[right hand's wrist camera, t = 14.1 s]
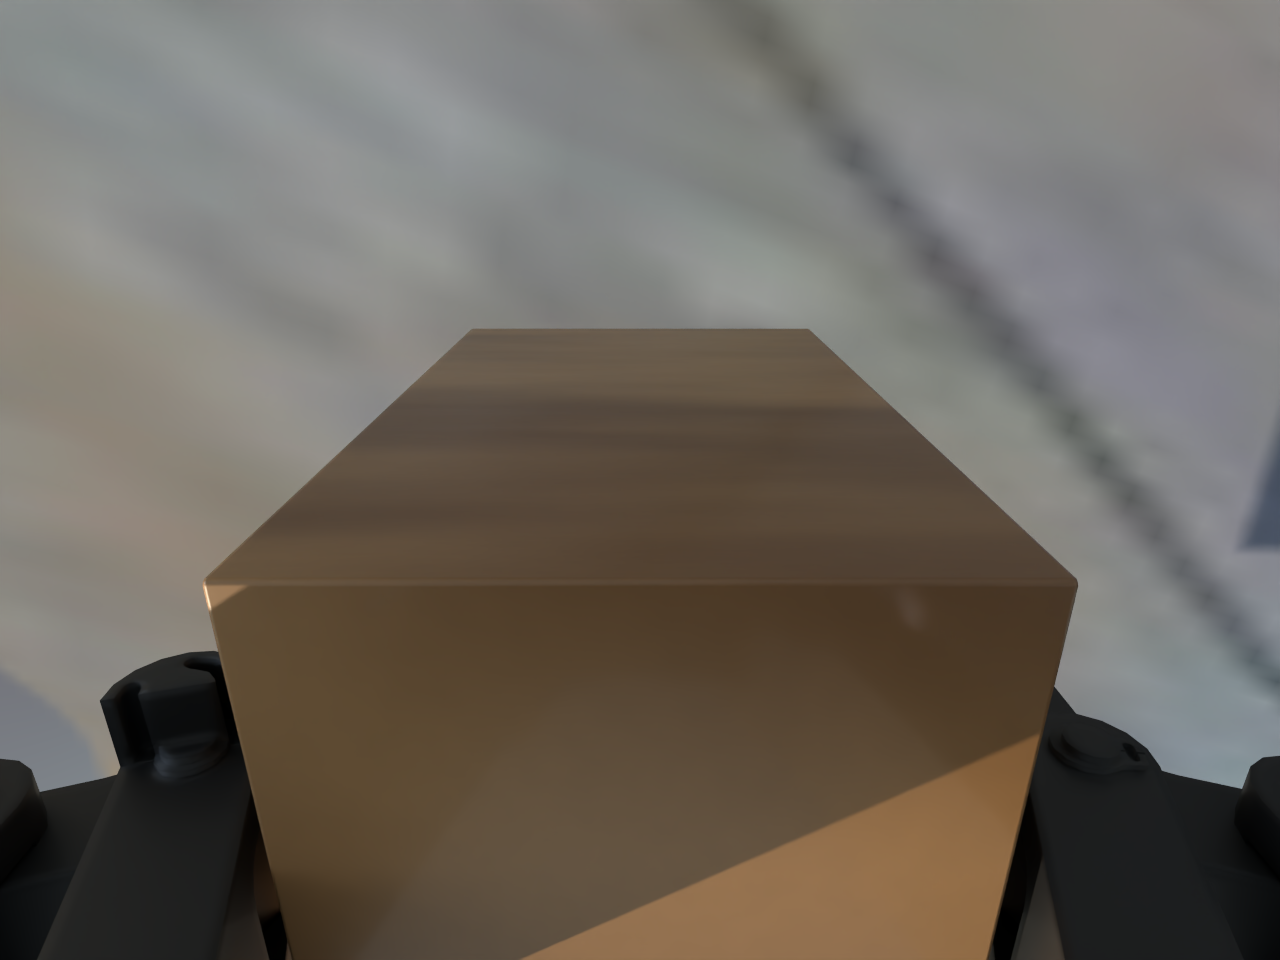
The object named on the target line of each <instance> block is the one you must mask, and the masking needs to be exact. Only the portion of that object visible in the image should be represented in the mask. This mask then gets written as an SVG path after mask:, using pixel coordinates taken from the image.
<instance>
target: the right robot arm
mask: <svg viewBox="0 0 1280 960" xmlns="http://www.w3.org/2000/svg"><path fill="white" fill-rule="evenodd" d="M100 703H101V706H102V709H103V713H104V716H105V719H106V722H107V725H108V728H109V732H110V735H111V738H112V741H113V744H114V748H115V751H116V754H117V757H118V760H119V764H120V769H119V772H118V774H117V775H114V776H110V777H107V778H103V779H99V780H94V781H89V782H85V783H80V784H75V785H71V786H66V787H62V788H57V789H52V790H47V791H43V792H39V789H38V786H37V783H36V781H35V778H34V775H33V773H32V770H31V769H30V768H28V767H27V766H26V765H24V764H23V763H21V762H20V761H15V760H6V759H0V960H292V958H291V954H290V949H289V945H288V941H287V937H286V933H285V928H284V924H283V920H282V916H281V912H280V907H279V903H278V899H277V895H276V891H275V886H274V882H273V878H272V874H271V870H270V866H269V861H268V857H267V853H266V849H265V845H264V840H263V836H262V832H261V828H260V824H259V819H258V815H257V811H256V807H255V803H254V798H253V794H252V790H251V786H250V782H249V778H248V773H247V769H246V765H245V761H244V757H243V752H242V748H241V744H240V740H239V736H238V731H237V727H236V723H235V719H234V715H233V711H232V706H231V702H230V698H229V694H228V690H227V685H226V681H225V677H224V673H223V669H222V664H221V660H220V656H219V652H216V651H205V652H189V653H185V654H181V655H177V656H172V657H168V658H164V659H161V660H158V661H156V662H154V663H151V664H149V665H147V666H144V667H142V668H140V669H137V670H135V671H133V672H132V673H130V674H129V675H127V676H126V677H124V678H123V679H121V680H120V681H118V682H117V683H115V684H114V685H113V686H112V687H111V688H110V689H109V691H108V692H107V693H106V694H105V695H104V696H103V698H102V699H101V700H100ZM989 960H1280V756H1274V757H1264V758H1262V759H1260V760H1259V761H1257V762H1256V763H1255V764H1253V765H1252V766H1250V769H1249V772H1248V775H1247V777H1246V780H1245V783H1244V785H1243V788H1242V789H1239V788H1235V787H1230V786H1225V785H1221V784H1216V783H1211V782H1207V781H1202V780H1197V779H1193V778H1188V777H1183V776H1179V775H1175V774H1171V773H1168V772H1164V771H1162V770H1161V768H1160V766H1159V764H1158V763H1157V762H1156V760H1155V759H1154V758H1153V756H1152V755H1151V753H1150V752H1149V751H1148V749H1147V748H1145V747H1144V746H1143V745H1142V744H1140V743H1139V742H1138V741H1136V740H1135V739H1134V738H1132V737H1131V736H1130V735H1129V734H1127V733H1126V732H1123V731H1121V730H1119V729H1117V728H1115V727H1113V726H1111V725H1109V724H1107V723H1105V722H1103V721H1100V720H1097V719H1093V718H1089V717H1086V716H1082V715H1079V714H1076V713H1075V712H1074V711H1073V709H1072V708H1071V707H1070V706H1069V704H1068V703H1067V702H1066V701H1065V699H1064V698H1063V697H1062V696H1061V694H1060V693H1059V692H1058V691H1057V689H1056V688H1055V687H1054V689H1053V693H1052V697H1051V701H1050V705H1049V710H1048V714H1047V718H1046V722H1045V726H1044V730H1043V735H1042V739H1041V743H1040V747H1039V751H1038V756H1037V760H1036V764H1035V768H1034V772H1033V776H1032V781H1031V785H1030V789H1029V793H1028V797H1027V801H1026V806H1025V810H1024V814H1023V818H1022V822H1021V827H1020V831H1019V835H1018V839H1017V843H1016V847H1015V852H1014V856H1013V860H1012V864H1011V868H1010V872H1009V877H1008V881H1007V885H1006V889H1005V893H1004V898H1003V902H1002V906H1001V910H1000V914H999V918H998V923H997V927H996V931H995V935H994V939H993V944H992V948H991V952H990V956H989Z"/></svg>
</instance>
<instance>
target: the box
mask: <svg viewBox="0 0 1280 960" xmlns="http://www.w3.org/2000/svg"><path fill="white" fill-rule="evenodd" d="M1077 588H1078V582H1077V579H1076V578H1075V577H1074V576H1073V575H1072V574H1071V573H1070V572H1068V571H1067V570H1066V569H1065V568H1064V567H1063V566H1062V565H1061V564H1060V563H1059V562H1058V561H1057V560H1056V559H1055V558H1053V557H1052V556H1051V555H1050V554H1049V553H1048V552H1047V551H1046V550H1045V549H1044V548H1043V547H1042V546H1041V545H1040V544H1038V543H1037V542H1036V541H1035V540H1034V539H1033V538H1032V537H1031V536H1030V535H1029V534H1028V533H1027V532H1026V531H1025V530H1023V529H1022V528H1021V527H1020V526H1019V525H1018V524H1017V523H1016V522H1015V521H1014V520H1013V519H1012V518H1011V517H1010V516H1008V515H1007V514H1006V513H1005V512H1004V511H1003V510H1002V509H1001V508H1000V507H999V506H998V505H997V504H996V503H995V502H993V501H992V500H991V499H990V498H989V497H988V496H987V495H986V494H985V493H984V492H983V491H982V490H981V489H980V488H978V487H977V486H976V485H975V484H974V483H973V482H972V481H971V480H970V479H969V478H968V477H967V476H966V475H965V474H963V473H962V472H961V471H960V470H959V469H958V468H957V467H956V466H955V465H954V464H953V463H952V462H951V461H949V460H948V459H947V458H946V457H945V456H944V455H943V454H942V453H941V452H940V451H939V450H938V449H937V448H936V447H934V446H933V445H932V444H931V443H930V442H929V441H928V440H927V439H926V438H925V437H924V436H923V435H922V434H921V433H919V432H918V431H917V430H916V429H915V428H914V427H913V426H912V425H911V424H910V423H909V422H908V421H907V420H906V419H904V418H903V417H902V416H901V415H900V414H899V413H898V412H897V411H896V410H895V409H894V408H893V407H892V406H891V405H889V404H888V403H887V402H886V401H885V400H884V399H883V398H882V397H881V396H880V395H879V394H878V393H877V392H876V391H874V390H873V389H872V388H871V387H870V386H869V385H868V384H867V383H866V382H865V381H864V380H863V379H862V378H861V377H859V376H858V375H857V374H856V373H855V372H854V371H853V370H852V369H851V368H850V367H849V366H848V365H847V364H846V363H844V362H843V361H842V360H841V359H840V358H839V357H838V356H837V355H836V354H835V353H834V352H833V351H832V350H831V349H829V348H828V347H827V346H826V345H825V344H824V343H823V342H822V341H821V340H820V339H819V338H818V337H817V336H815V335H814V334H813V333H812V332H811V331H810V330H809V329H472V330H470V331H469V332H468V333H467V334H466V335H465V336H464V337H463V338H462V339H461V340H460V341H459V342H458V343H456V344H455V345H454V346H453V347H452V348H451V349H450V350H449V351H448V352H447V353H446V354H445V355H444V356H442V357H441V358H440V359H439V360H438V361H437V362H436V363H435V364H434V365H433V366H432V367H431V368H430V369H429V370H427V371H426V372H425V373H424V374H423V375H422V376H421V377H420V378H419V379H418V380H417V381H416V382H415V383H414V384H412V385H411V386H410V387H409V388H408V389H407V390H406V391H405V392H404V393H403V394H402V395H401V396H400V397H399V398H397V399H396V400H395V401H394V402H393V403H392V404H391V405H390V406H389V407H388V408H387V409H386V410H385V411H384V412H382V413H381V414H380V415H379V416H378V417H377V418H376V419H375V420H374V421H373V422H372V423H371V424H370V425H369V426H367V427H366V428H365V429H364V430H363V431H362V432H361V433H360V434H359V435H358V436H357V437H356V438H355V439H354V440H352V441H351V442H350V443H349V444H348V445H347V446H346V447H345V448H344V449H343V450H342V451H341V452H340V453H339V454H337V455H336V456H335V457H334V458H333V459H332V460H331V461H330V462H329V463H328V464H327V465H326V466H325V467H324V468H322V469H321V470H320V471H319V472H318V473H317V474H316V475H315V476H314V477H313V478H312V479H311V480H310V481H309V482H307V483H306V484H305V485H304V486H303V487H302V488H301V489H300V490H299V491H298V492H297V493H296V494H295V495H294V496H292V497H291V498H290V499H289V500H288V501H287V502H286V503H285V504H284V505H283V506H282V507H281V508H280V509H279V510H277V511H276V512H275V513H274V514H273V515H272V516H271V517H270V518H269V519H268V520H267V521H266V522H265V523H264V524H262V525H261V526H260V527H259V528H258V529H257V530H256V531H255V532H254V533H253V534H252V535H251V536H250V537H249V538H247V539H246V540H245V541H244V542H243V543H242V544H241V545H240V546H239V547H238V548H237V549H236V550H235V551H234V552H232V553H231V554H230V555H229V556H228V557H227V558H226V559H225V560H224V561H223V562H222V563H221V564H220V565H219V566H217V567H216V568H215V569H214V570H213V571H212V572H211V573H210V574H209V575H208V576H207V577H206V578H205V579H204V581H203V589H204V593H205V597H206V602H207V606H208V610H209V614H210V618H211V623H212V627H213V631H214V635H215V639H216V643H217V648H218V652H219V656H220V660H221V664H222V669H223V673H224V677H225V681H226V685H227V690H228V694H229V698H230V702H231V706H232V711H233V715H234V719H235V723H236V727H237V731H238V736H239V740H240V744H241V748H242V752H243V757H244V761H245V765H246V769H247V773H248V778H249V782H250V786H251V790H252V794H253V798H254V803H255V807H256V811H257V815H258V819H259V824H260V828H261V832H262V836H263V840H264V845H265V849H266V853H267V857H268V861H269V866H270V870H271V874H272V878H273V882H274V886H275V891H276V895H277V899H278V903H279V907H280V912H281V916H282V920H283V924H284V928H285V933H286V937H287V941H288V945H289V949H290V954H291V958H292V960H989V956H990V952H991V948H992V944H993V939H994V935H995V931H996V927H997V923H998V918H999V914H1000V910H1001V906H1002V902H1003V898H1004V893H1005V889H1006V885H1007V881H1008V877H1009V872H1010V868H1011V864H1012V860H1013V856H1014V852H1015V847H1016V843H1017V839H1018V835H1019V831H1020V827H1021V822H1022V818H1023V814H1024V810H1025V806H1026V801H1027V797H1028V793H1029V789H1030V785H1031V781H1032V776H1033V772H1034V768H1035V764H1036V760H1037V756H1038V751H1039V747H1040V743H1041V739H1042V735H1043V730H1044V726H1045V722H1046V718H1047V714H1048V710H1049V705H1050V701H1051V697H1052V693H1053V689H1054V685H1055V680H1056V676H1057V672H1058V668H1059V664H1060V659H1061V655H1062V651H1063V647H1064V643H1065V639H1066V634H1067V630H1068V626H1069V622H1070V618H1071V614H1072V609H1073V605H1074V601H1075V597H1076V593H1077Z"/></svg>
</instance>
